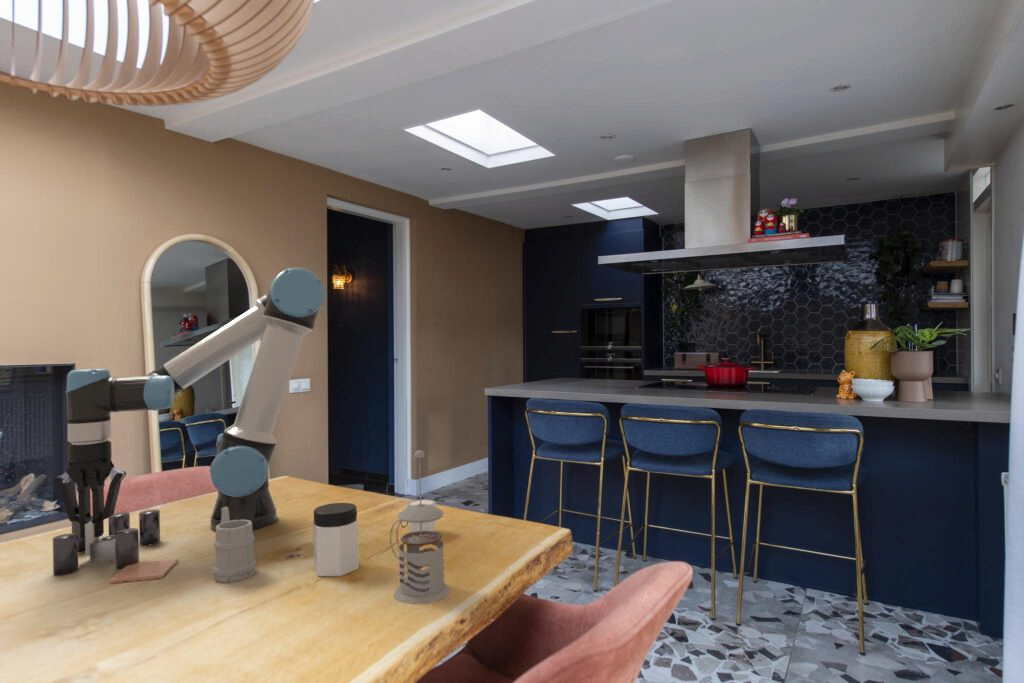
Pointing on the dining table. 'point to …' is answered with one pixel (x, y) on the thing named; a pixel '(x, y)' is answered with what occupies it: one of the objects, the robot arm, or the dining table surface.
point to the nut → (103, 549)
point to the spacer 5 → (149, 527)
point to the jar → (335, 539)
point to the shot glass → (425, 526)
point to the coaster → (144, 571)
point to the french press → (420, 555)
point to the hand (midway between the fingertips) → (92, 552)
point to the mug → (233, 549)
